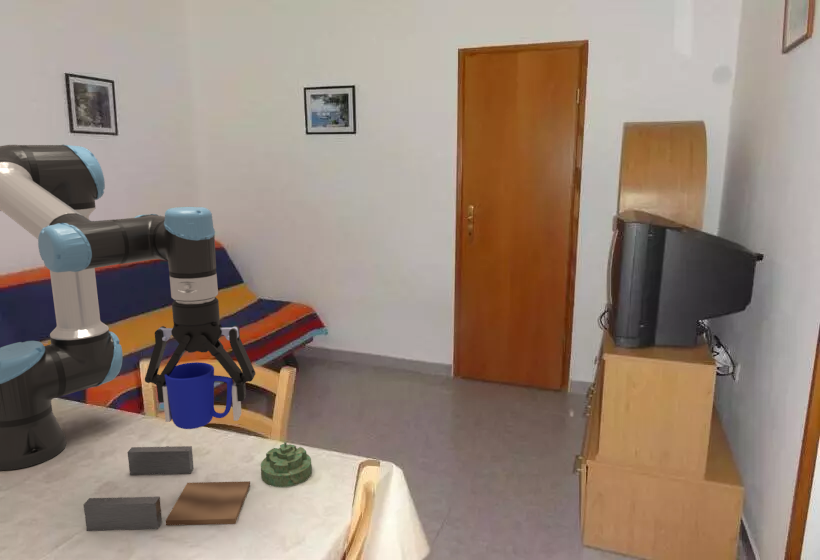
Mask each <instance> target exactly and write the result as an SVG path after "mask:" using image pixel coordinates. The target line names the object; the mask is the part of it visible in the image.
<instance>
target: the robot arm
mask: <svg viewBox="0 0 820 560" xmlns="http://www.w3.org/2000/svg"><path fill="white" fill-rule="evenodd" d="M104 176H105V175H104V172H103V169H102V166H101V164H100V162H99V161H98V158H97V157H96V156H95V155H94V153H93V152H92V151H90V150H89V149H87V148H86V147H85V146H81V145H80V146H79V145H68V144H5V145H0V212H2V213H4V214H5V215H7V216H8V218H10V219H11V220H13V221H14V222H15V223H17V224H18V225H19V226H20V227H21V228H22V229H24V230H25V231H26V232H27V233H29V234H31V236H33V237H34V238H35V239H37V241H38V242H37V245H38V253H39V255H40V258H41V260H42V261H43V264H44V266H45V267H46V269H48V270H49V274H50V283H51V290H52V297H53V306H54V314H55V322H56V327H55V328H54V329H53V330H52V331H51V332H50V334H49V338H50V344H47V345H44V344H43V342H41V341H38V340H26V341H23V342H22V341H19V342H14V343H11V344H7V345H4V346H1V347H0V471H10V470H19V469H24V468H28V467H33V466H36V465H39V464H41V463H43V462H47V461H49V460H50V459H53V458H54V457H56V456H57V455H59V454H60V453H61V452H63V451H64V449H65V448H66V446H67V442H66V434H65V432H64V430H63V429H62V427H61V425H60V423H59V421H58V420H57V418H56V416H55V415H54V412H53V406H52V400H53V399H56V398H60V397H64V396H67V395H70V394H74V393H76V392H80V391H83V390H86V389H91V388H97V387H99V386H102V385H103V384H107V383H109V382H111V381H113V380H114V379H116V377H117V376H118V375H119V374H120V371H121V369H122V366H123V358H124V356H123V348H122V345H121V344H120V339H119V336H118V335H117V334H116V333H114V332H113V331H110V330H109V329H110V328H109V325H107V324H105V323H104V322H102V320H101V315H100V313H101V312H100V305H99V299H98V298H99V297H98V288H97V279H96V270H95V269H96V268H104V267H110V266H116V265H124V264H131V263H138V262H144V261H151V260H152V261H153V260H162V261H167V264H168V273H169V286H170V297H171V299H173V302H172V303H171V310H172V321H173V322H172V323H173V326H172V327H167V326H164V325H162V326H160V327H158V329H156V330H155V331H154V342H155V343H154V347H153V349H152V354H151V356H150V360H149V364H148V367H147V369H146V373H145V377H144V382H145V383H146V384H150V383H152V384H154V385H155V386H156V390H157V400H158V402H159V403H163V408H164V420H165V422H166V423H167V422H168V423H169V422H171V421H173V420H172V415H171V409H170V403H169V398H168V392H167V387H166V381H165V374H167V376H169V375H170V374H171V373H172V371H173V370H174V368H175V366H177V365H178V363H179V362H180V360H181V359H182V357H183V355H184V353H185V352H188V353H191V354H192V353H196V352H198V353H207V352H209V354H210V355H211V356H212V357H214V358H215V359H216V360H217V362H218V363H219V364H220V365H221V367H222V368H223V370H224V371H226V373H227V375H229V376H230V378H232V379H233V386H232V413H233V414H232V416H233V421H234V422H235V421H236V422H238V421H239V419H240V417H241V416H242V402H244V401H245V398H246V396H247V391H246V390H247V389H246V383H247V382H250V383H251V382H252V381H253V379H254V378H255V376H256V370H255V369H254V366H253V364H252V362H251V360H250V358H249V355H248V353H247V351H246V348H245V346H244V344H243V341H242V339H241V335H240V334H241V333H240V332H241V331H240V327H239V326H238V325H233V326H232V327H223V326H222V324H221V320H220V319H221V318H220V307H219V306H220V305H219V303H220V302H219V299H218V298H217V296H218V295H219V290H218V288H219V287H218V276H217V260H216V257H217V256H216V242H215V241H216V240H215V236H216V231H215V228H214V220H213V213H212V211H211V210H210V208H207V207H202V206H182V207H181V206H179V207H178V206H177V207H170V208H168V209H167V210H165V212H164V216H163V215H158V214H155V213H151V214H150V213H149V214H139V215H136V216H135V217H130V218H129V217H128V218H117V219H104V220H90V215H91V214H93V212H94V211H95V210H96V201H97V200H99V199H101V198H102V197H103V196H104V193H105V191H104V190H105V188H106V185H105V183H106V182H105V181H106V180H105V177H104ZM171 336H172V338H174V339H175V341H176V342H177V343H178V346H177V347H176V348H175V350H174V351H173V353H172V355H171V356H170V358H169V360H168V362H167V363H166V365H165V367H164V368H162V369H163V370H162V371H161V373H159V369H160V366H161V363H162V359H163V356H164V353H165V350H166V347H167V344H168V343H167V342H168V341H169V340H170V338H171ZM221 336H224V337H225V339H226V340H227V341H229V345H230V347H231V350H232V351H233V353H234V357H235V358H236V361H237V362H238V364H237V363H236V362H235V361H234V359H233V358H232V357H231V355H230V354H229V353H228V352H227V351H226V349H225V348H224V345H223V344H222V342H221V341H220V338H221Z"/></svg>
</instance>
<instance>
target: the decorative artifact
mask: <svg viewBox="0 0 820 560" xmlns="http://www.w3.org/2000/svg"><path fill="white" fill-rule="evenodd" d="M279 446H280V447H278V448H276V447H273V448H271V449H270V450H268V451H267V452H266V453H265V456H266V457H265V458H264V459H262V461H261V463H260V475H261V476H260V477H261V480H262V482H264V483H265V484H266V485H268V486H270V485H271V487H275V488H288V487H293V486H296V485H300V484H303V482H306V481H307V480H308V479H309V478H310V477H311V476H312V472H313V470H312V468H313V467H312V457H311V456H310V455H309V454H308V453H307V451H306V449H305V448H304V447H302V446H299V447H297V445H294V444H290V443H289V444H287V441H284V443H283V444H280V445H279Z"/></svg>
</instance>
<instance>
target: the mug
mask: <svg viewBox="0 0 820 560" xmlns="http://www.w3.org/2000/svg"><path fill="white" fill-rule="evenodd" d="M165 381H166V387H167V392H168V398H169V403H170V409H171V415H172V420H171V421H172V422H173V424H174V425H175V426H176V427H177V428H179V429H182V430H194V429H199V428H202V427H204V426H207V425H208V424H209V423H210V422H211V421H212V419H213V418H215V419H223V418H225V417H226V416H227V415H228V414H229V413H230V411H231V408H232V405H233V402H232V386H233V383H234V380H233V379H232V378H231V377H229V376H224V375H215V367H214V366H213V365H212V364H209V363H206V362H186V363H181V364H177V365H176V366H175V368H174V370H173V371H172V373H171V374H170V375H169V376H167V374H165ZM215 382H222V383H225V384H226V404H225V409H224V411H223V412H218V411H216V410H215V404H214V402H215V398H214V397H215Z"/></svg>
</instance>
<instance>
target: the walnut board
mask: <svg viewBox="0 0 820 560" xmlns="http://www.w3.org/2000/svg"><path fill="white" fill-rule="evenodd" d="M250 487H251V481H248V480H247V481H205V482H204V481H201V482H197V481H196V482H186V484H185V486H184V488H183V490H182V491H181V492H180V495H178V496H179V497H178V498H177V500H176V501H175V503H174V505H173V507H172V509H171V510H170V512H169V514H168V515H167V517H166V519H165V526H197V525H199V526H201V525H204V526H206V525H237V524H236V523H237V521H238V519H239V516H240V513H241V511H242V508H243V506H244V503H245V501H246V498H247V495H248V493H249V490H250Z"/></svg>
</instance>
